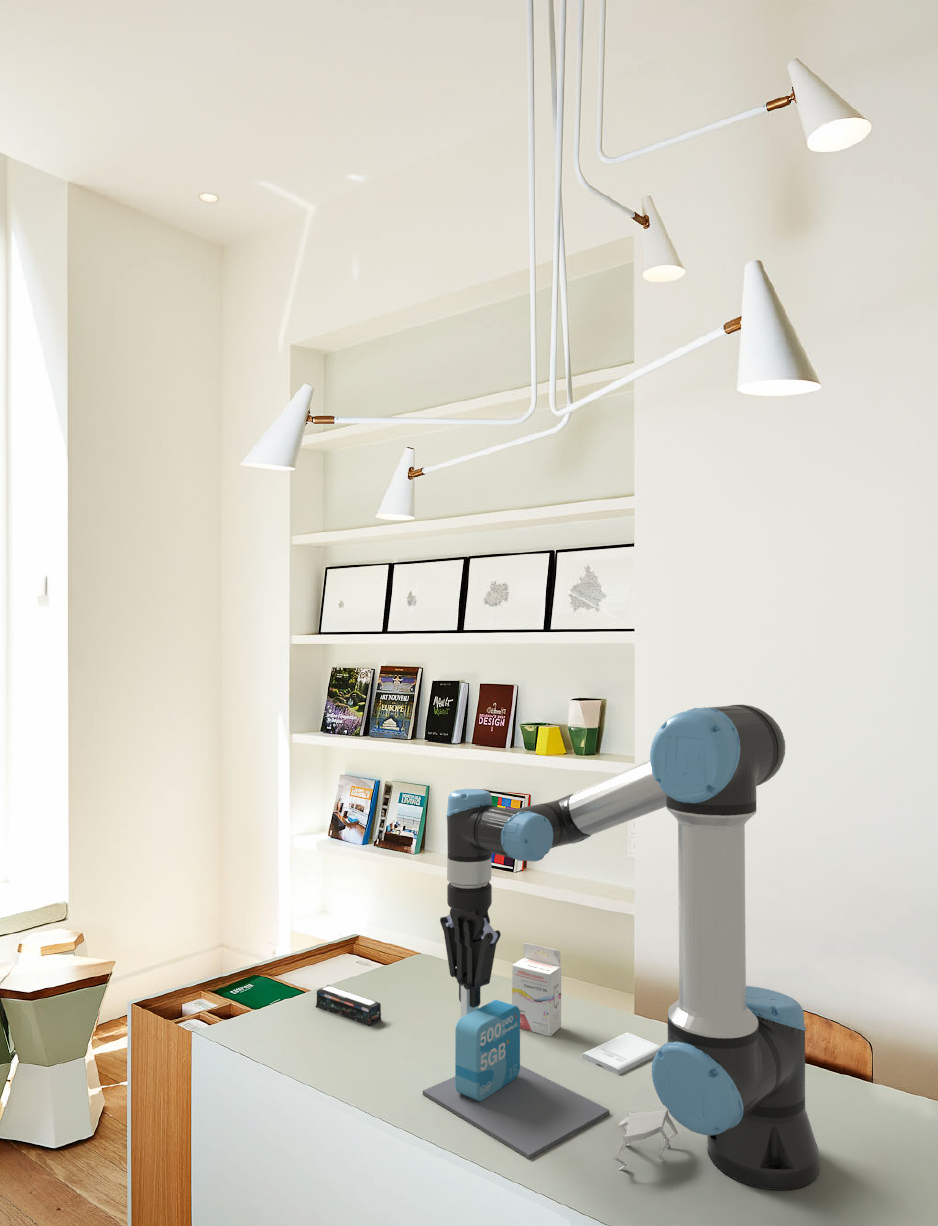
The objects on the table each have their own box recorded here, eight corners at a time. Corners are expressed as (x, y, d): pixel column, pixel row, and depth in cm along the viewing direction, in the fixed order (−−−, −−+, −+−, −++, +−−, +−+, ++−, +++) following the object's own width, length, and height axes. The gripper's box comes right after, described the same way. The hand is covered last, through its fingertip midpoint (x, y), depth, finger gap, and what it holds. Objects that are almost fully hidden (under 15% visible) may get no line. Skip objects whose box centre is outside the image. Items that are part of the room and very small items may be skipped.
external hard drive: (662, 1055, 158) (618, 1078, 150) (626, 1040, 164) (581, 1060, 156) (662, 1046, 158) (618, 1068, 150) (626, 1031, 164) (581, 1051, 156)
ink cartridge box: (510, 1026, 168) (510, 948, 169) (523, 1017, 172) (523, 941, 173) (550, 1037, 164) (550, 957, 164) (562, 1027, 168) (562, 949, 168)
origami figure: (627, 1129, 133) (626, 1096, 133) (681, 1146, 129) (681, 1111, 129) (595, 1170, 123) (595, 1134, 123) (653, 1189, 118) (652, 1152, 118)
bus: (334, 993, 185) (334, 973, 185) (424, 1025, 170) (424, 1003, 170) (280, 1017, 174) (280, 995, 174) (373, 1053, 159) (373, 1029, 159)
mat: (609, 1113, 137) (609, 1109, 137) (529, 1158, 125) (529, 1154, 125) (502, 1059, 155) (502, 1055, 155) (422, 1094, 143) (422, 1090, 143)
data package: (476, 1105, 138) (476, 1027, 139) (454, 1095, 141) (454, 1020, 142) (520, 1075, 148) (520, 1003, 148) (499, 1067, 151) (499, 996, 151)
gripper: (512, 886, 147) (512, 1029, 146) (460, 871, 156) (460, 1005, 156) (479, 894, 142) (479, 1043, 141) (427, 878, 151) (427, 1017, 150)
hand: (469, 1023), depth 148 cm, fingers closed
